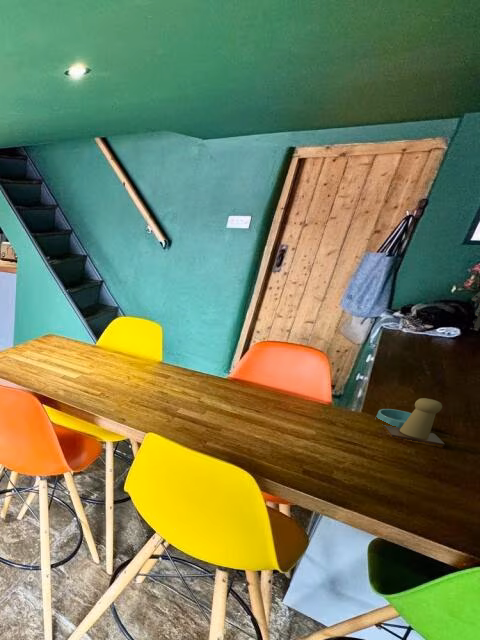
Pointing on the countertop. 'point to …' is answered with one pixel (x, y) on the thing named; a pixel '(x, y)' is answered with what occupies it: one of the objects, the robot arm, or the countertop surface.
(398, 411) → the bowl
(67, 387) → the countertop surface
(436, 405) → the cork
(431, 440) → the board
